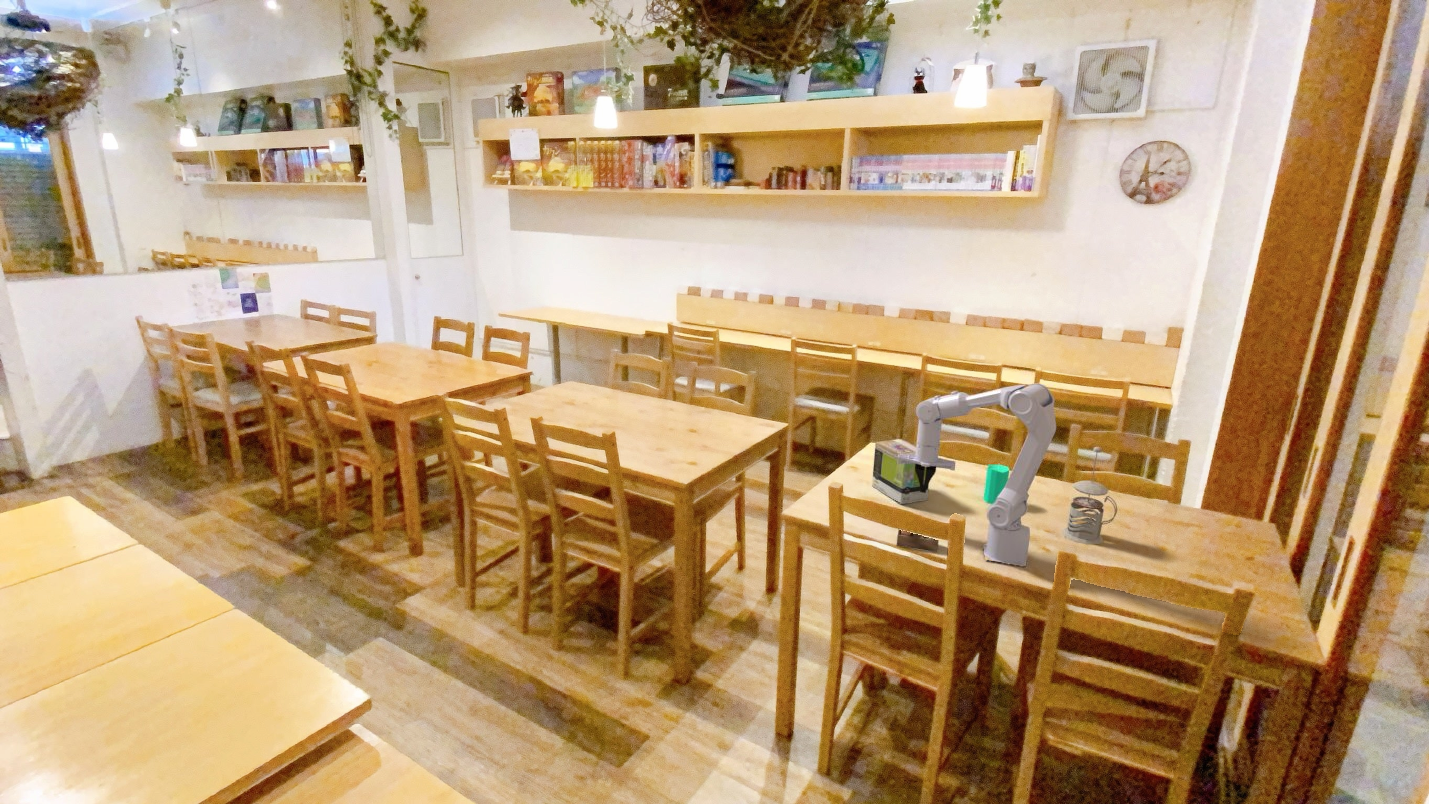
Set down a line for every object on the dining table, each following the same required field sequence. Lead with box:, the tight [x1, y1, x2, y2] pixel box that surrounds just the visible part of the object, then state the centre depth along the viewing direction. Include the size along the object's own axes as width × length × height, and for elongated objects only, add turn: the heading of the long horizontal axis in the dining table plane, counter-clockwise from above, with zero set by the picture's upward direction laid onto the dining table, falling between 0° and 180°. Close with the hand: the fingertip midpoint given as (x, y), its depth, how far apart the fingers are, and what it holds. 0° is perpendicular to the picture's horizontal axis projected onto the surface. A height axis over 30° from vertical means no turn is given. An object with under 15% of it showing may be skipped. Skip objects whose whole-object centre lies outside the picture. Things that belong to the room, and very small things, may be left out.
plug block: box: [896, 529, 940, 553], centre depth 177 cm, size 10×4×3 cm, turn 71°
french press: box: [1061, 446, 1118, 545], centre depth 179 cm, size 10×12×25 cm
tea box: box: [871, 438, 930, 505], centre depth 206 cm, size 15×10×15 cm, turn 22°
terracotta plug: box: [901, 530, 911, 536], centre depth 177 cm, size 4×4×4 cm
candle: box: [982, 464, 1010, 505], centre depth 202 cm, size 6×6×12 cm
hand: (923, 491), depth 184 cm, fingers closed
